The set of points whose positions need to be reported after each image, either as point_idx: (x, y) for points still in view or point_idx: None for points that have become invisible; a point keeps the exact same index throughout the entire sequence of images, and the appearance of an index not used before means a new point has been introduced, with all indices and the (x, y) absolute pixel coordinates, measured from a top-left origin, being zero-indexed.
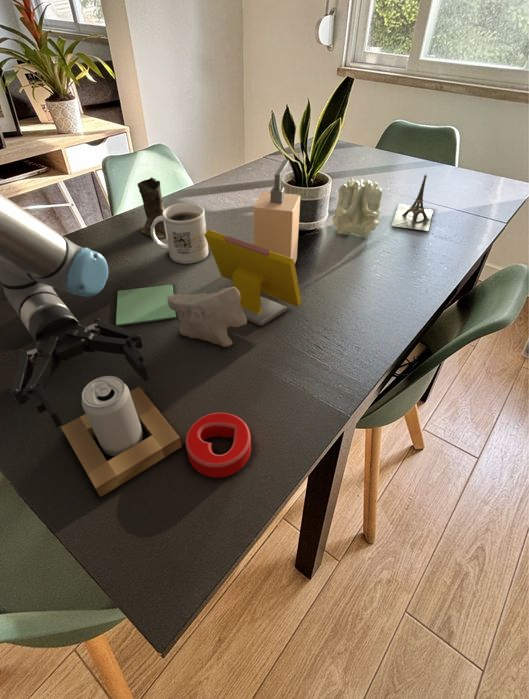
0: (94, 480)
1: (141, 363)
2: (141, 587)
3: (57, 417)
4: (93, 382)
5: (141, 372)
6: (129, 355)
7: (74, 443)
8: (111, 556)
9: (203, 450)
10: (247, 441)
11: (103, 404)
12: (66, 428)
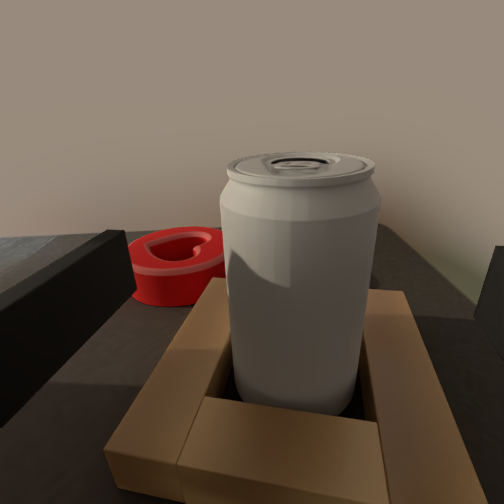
0: (401, 300)
1: (88, 242)
2: (380, 242)
3: (490, 271)
4: (305, 177)
5: (124, 252)
6: (45, 280)
7: (436, 402)
8: (404, 267)
9: (213, 243)
10: (165, 229)
11: (324, 154)
12: (466, 493)
